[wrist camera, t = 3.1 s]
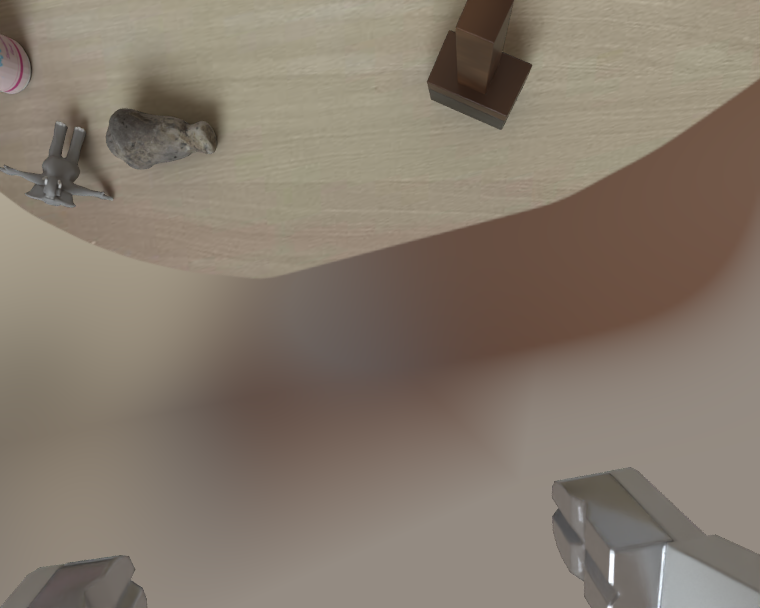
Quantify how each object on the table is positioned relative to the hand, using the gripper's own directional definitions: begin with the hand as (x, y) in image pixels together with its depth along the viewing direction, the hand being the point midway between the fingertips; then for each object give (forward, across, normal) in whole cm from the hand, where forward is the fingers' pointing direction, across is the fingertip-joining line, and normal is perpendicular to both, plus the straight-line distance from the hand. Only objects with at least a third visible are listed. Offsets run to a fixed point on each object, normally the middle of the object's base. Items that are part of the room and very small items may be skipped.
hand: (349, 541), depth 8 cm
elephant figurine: (+44, +29, -13) cm, 54 cm away
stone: (+40, +16, -14) cm, 46 cm away
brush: (+32, -14, -14) cm, 37 cm away
